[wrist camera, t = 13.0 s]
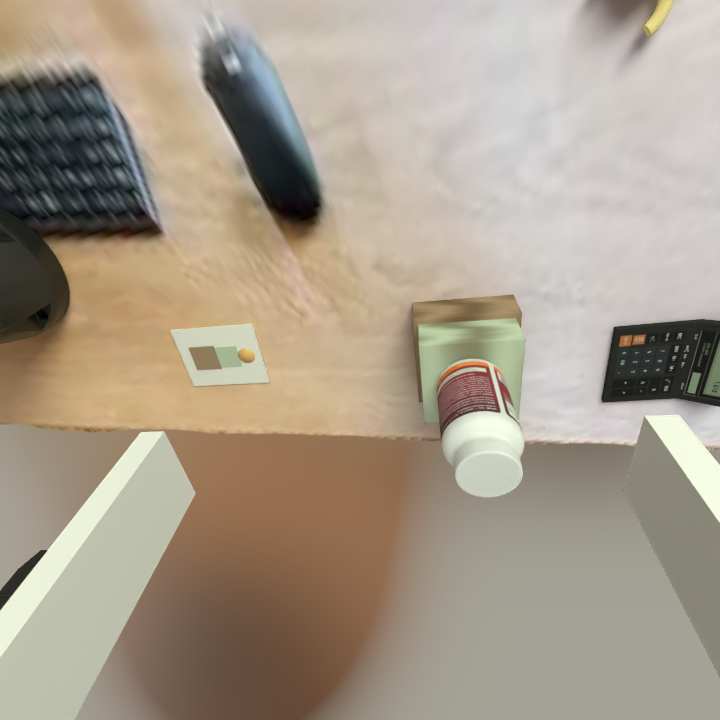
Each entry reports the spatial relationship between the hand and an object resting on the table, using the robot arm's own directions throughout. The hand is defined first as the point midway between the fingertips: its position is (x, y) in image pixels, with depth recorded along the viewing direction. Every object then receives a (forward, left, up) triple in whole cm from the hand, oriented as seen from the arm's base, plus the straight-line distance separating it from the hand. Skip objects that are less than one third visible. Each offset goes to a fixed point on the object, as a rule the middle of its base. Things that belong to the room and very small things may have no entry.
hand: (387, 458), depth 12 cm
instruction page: (-23, -15, -32) cm, 42 cm away
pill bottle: (+5, -15, -24) cm, 29 cm away
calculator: (+26, -19, -32) cm, 46 cm away
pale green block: (+5, -15, -32) cm, 35 cm away
